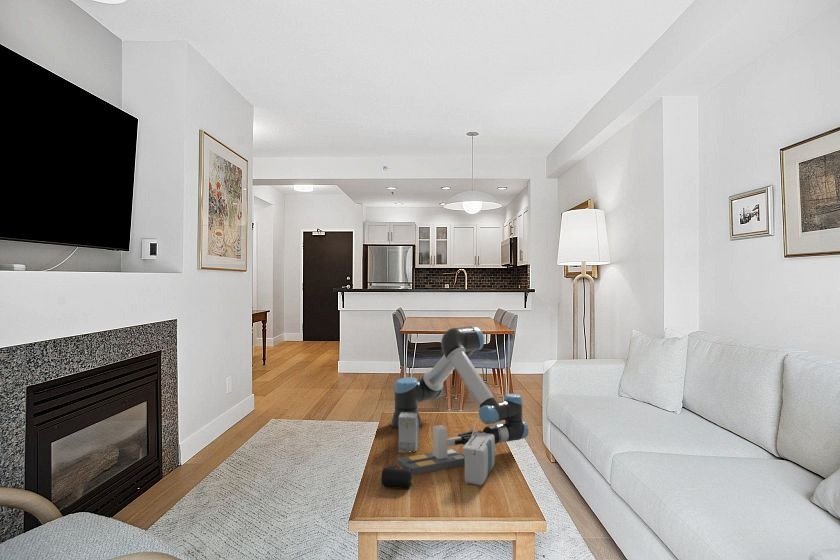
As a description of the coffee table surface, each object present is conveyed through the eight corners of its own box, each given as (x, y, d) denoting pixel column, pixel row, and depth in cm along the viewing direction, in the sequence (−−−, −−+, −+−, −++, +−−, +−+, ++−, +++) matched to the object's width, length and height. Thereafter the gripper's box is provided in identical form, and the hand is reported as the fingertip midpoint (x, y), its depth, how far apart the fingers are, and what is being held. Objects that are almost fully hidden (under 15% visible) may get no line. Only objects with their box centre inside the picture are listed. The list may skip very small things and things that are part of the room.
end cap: (381, 490, 170) (381, 470, 170) (386, 481, 177) (386, 463, 177) (408, 492, 168) (408, 473, 168) (413, 484, 175) (413, 465, 175)
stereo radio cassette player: (484, 487, 172) (483, 431, 172) (461, 484, 174) (461, 429, 174) (495, 466, 191) (495, 416, 191) (475, 464, 194) (475, 414, 194)
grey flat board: (397, 464, 193) (397, 458, 193) (453, 454, 204) (453, 448, 204) (409, 475, 182) (409, 468, 182) (468, 464, 194) (468, 457, 194)
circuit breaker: (419, 441, 221) (419, 409, 221) (415, 452, 207) (415, 417, 207) (402, 441, 221) (402, 408, 222) (398, 452, 207) (398, 417, 207)
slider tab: (432, 455, 196) (432, 426, 196) (441, 453, 198) (441, 424, 198) (438, 459, 192) (438, 429, 192) (447, 457, 193) (447, 428, 193)
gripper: (504, 448, 199) (454, 457, 189) (486, 438, 211) (438, 447, 200) (504, 429, 199) (454, 438, 189) (486, 421, 211) (438, 429, 200)
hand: (446, 442), depth 194 cm, fingers closed
